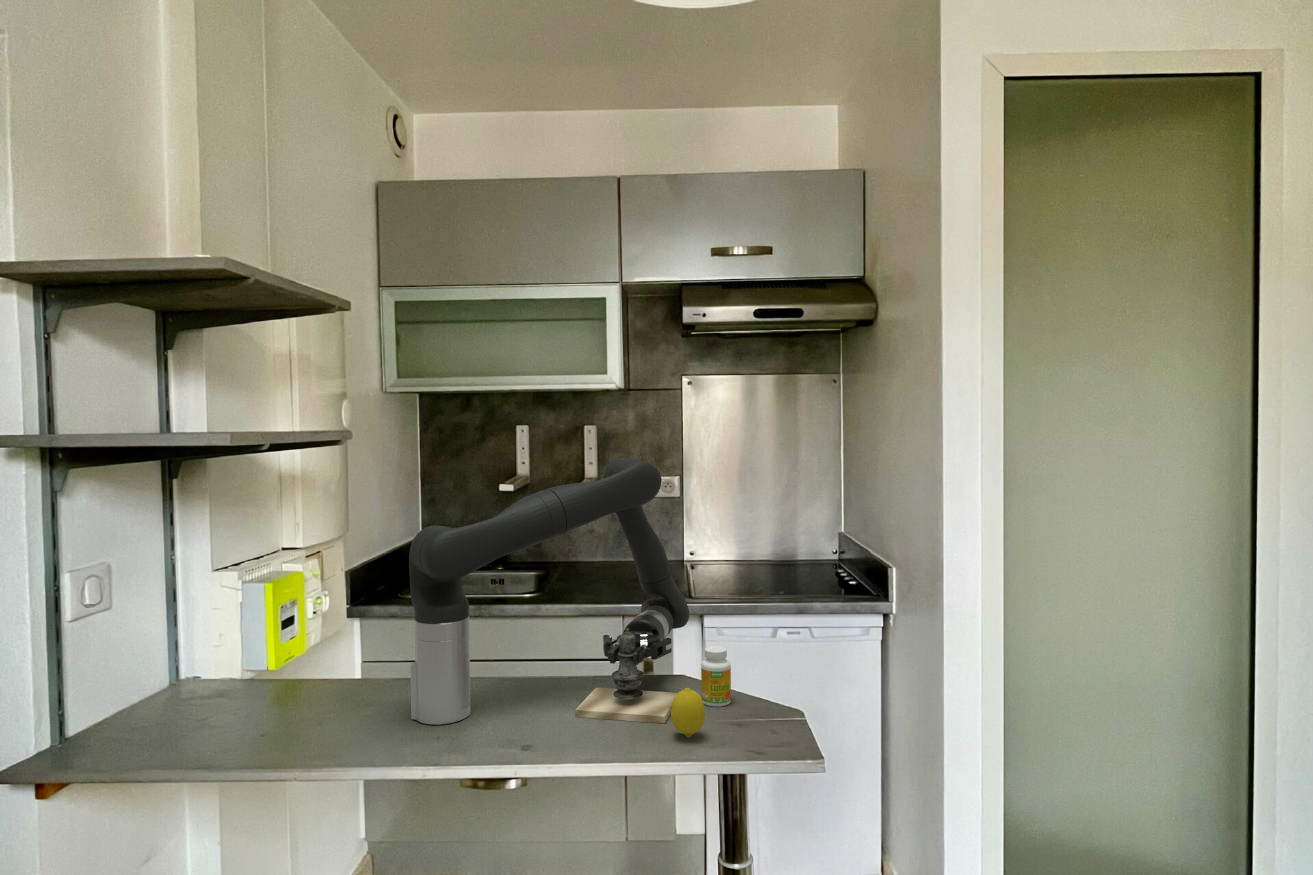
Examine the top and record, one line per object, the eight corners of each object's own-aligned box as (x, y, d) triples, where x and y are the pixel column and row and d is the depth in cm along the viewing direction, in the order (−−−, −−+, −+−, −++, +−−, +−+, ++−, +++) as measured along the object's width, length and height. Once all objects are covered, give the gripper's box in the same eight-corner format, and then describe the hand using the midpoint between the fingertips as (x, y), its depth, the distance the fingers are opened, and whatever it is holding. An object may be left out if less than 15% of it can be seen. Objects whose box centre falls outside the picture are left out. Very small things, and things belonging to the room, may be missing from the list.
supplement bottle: (709, 709, 136) (708, 654, 136) (696, 699, 141) (696, 646, 141) (736, 704, 138) (735, 651, 138) (723, 695, 143) (722, 643, 143)
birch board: (575, 716, 133) (575, 709, 133) (596, 693, 145) (596, 687, 145) (664, 723, 129) (664, 716, 129) (678, 699, 141) (678, 692, 141)
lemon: (666, 741, 122) (665, 691, 122) (677, 728, 127) (676, 680, 127) (699, 745, 120) (699, 695, 120) (709, 732, 125) (708, 684, 125)
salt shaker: (640, 700, 134) (639, 632, 133) (608, 698, 135) (607, 631, 135) (647, 689, 139) (646, 623, 139) (616, 687, 141) (615, 622, 140)
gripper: (612, 612, 152) (584, 635, 136) (681, 615, 149) (662, 639, 133) (612, 649, 153) (585, 677, 136) (682, 653, 149) (663, 682, 133)
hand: (623, 658), depth 134 cm, fingers closed on salt shaker, 3 cm apart
